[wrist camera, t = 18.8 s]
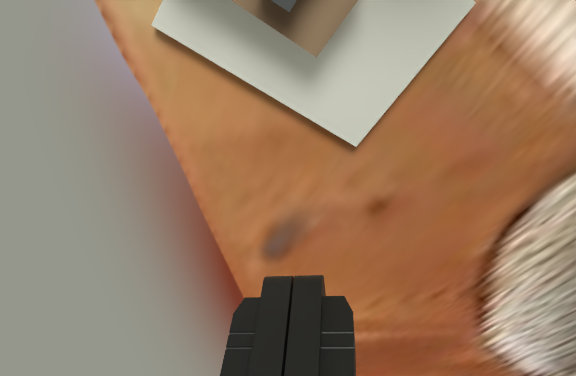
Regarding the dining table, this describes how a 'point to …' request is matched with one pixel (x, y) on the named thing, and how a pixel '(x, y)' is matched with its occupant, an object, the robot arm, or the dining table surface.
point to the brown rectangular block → (302, 19)
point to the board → (321, 55)
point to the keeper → (285, 4)
